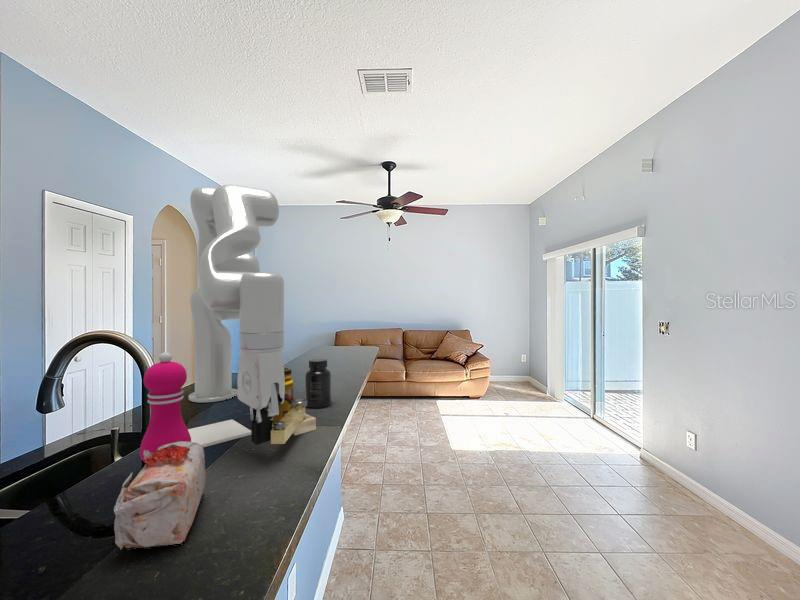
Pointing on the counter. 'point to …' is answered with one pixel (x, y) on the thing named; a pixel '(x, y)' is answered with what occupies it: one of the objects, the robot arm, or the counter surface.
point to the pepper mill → (164, 404)
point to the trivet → (218, 432)
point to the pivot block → (306, 425)
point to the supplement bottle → (318, 384)
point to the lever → (288, 422)
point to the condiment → (286, 396)
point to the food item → (161, 497)
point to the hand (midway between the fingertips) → (261, 441)
